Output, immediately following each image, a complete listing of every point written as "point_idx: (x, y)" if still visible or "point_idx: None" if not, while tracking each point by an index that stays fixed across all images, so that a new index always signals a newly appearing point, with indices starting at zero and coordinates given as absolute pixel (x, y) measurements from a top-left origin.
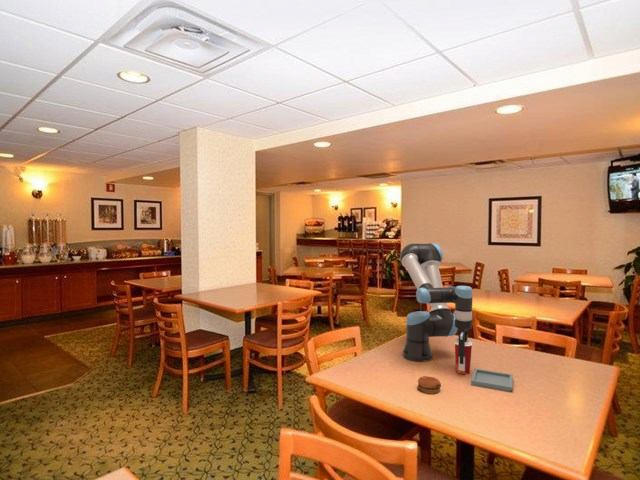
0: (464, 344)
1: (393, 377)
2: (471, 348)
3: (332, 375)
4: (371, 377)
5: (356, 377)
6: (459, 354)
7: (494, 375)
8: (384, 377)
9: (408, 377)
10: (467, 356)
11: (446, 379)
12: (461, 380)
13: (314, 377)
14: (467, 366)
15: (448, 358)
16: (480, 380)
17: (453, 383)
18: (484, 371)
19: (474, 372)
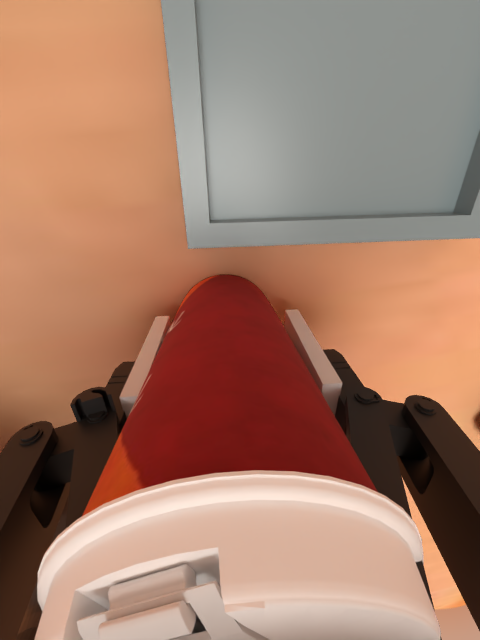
0: (428, 589)
1: (417, 513)
2: (241, 406)
3: (435, 594)
4: (431, 547)
5: (439, 566)
6: (427, 454)
7: (212, 30)
8: (423, 528)
9: (405, 484)
10: (303, 364)
11: (389, 369)
12: (383, 298)
13: (456, 606)
14: (270, 307)
15: (23, 426)
16: (396, 169)
17: (442, 329)
18: (204, 150)
19: (292, 236)
